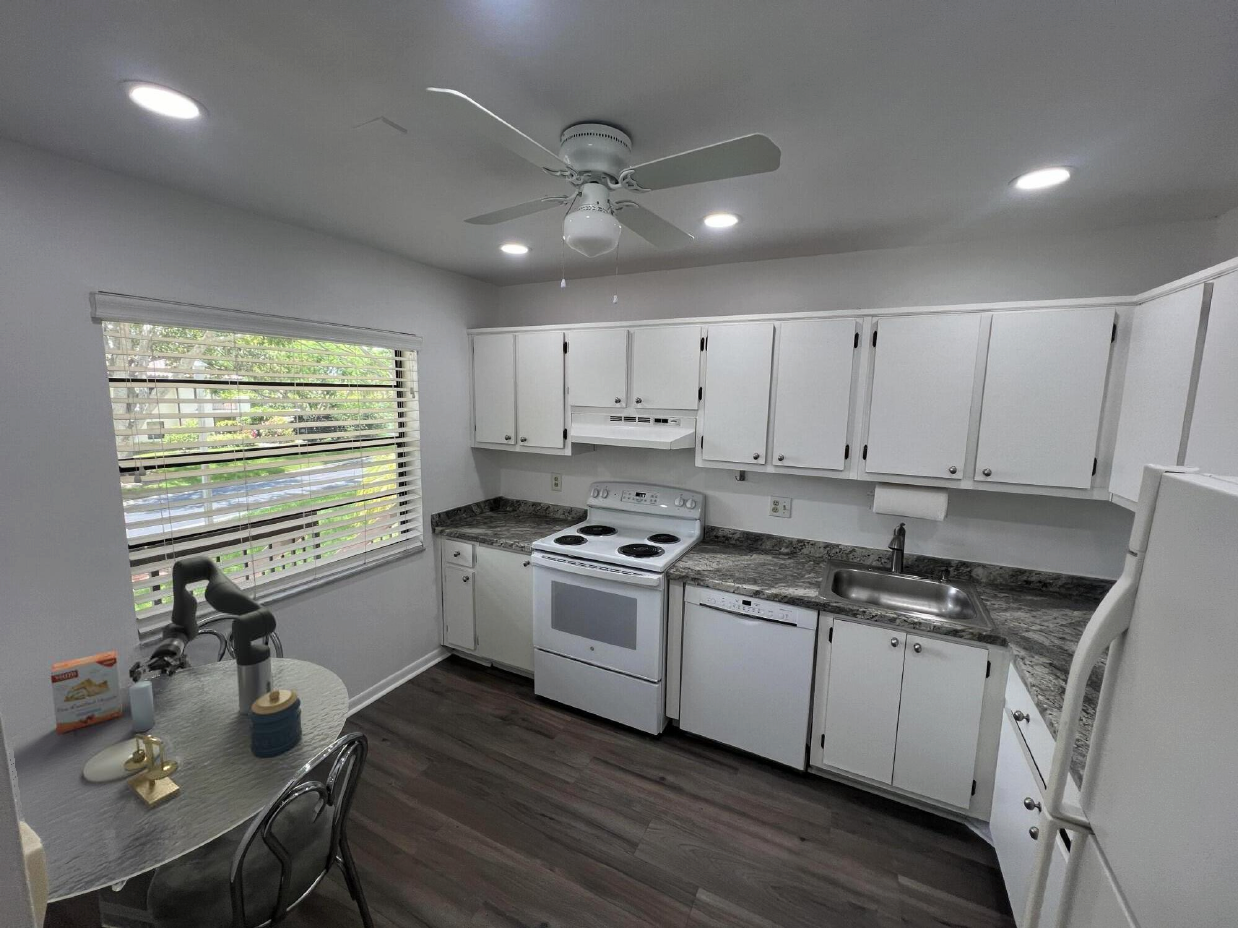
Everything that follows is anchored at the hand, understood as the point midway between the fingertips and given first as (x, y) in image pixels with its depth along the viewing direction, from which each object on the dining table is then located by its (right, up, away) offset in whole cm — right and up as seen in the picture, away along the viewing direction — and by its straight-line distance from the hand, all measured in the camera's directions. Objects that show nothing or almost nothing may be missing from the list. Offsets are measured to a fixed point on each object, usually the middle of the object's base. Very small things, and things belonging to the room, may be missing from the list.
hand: (152, 676), depth 163 cm
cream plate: (+13, -14, -22) cm, 29 cm away
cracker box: (-13, -11, -7) cm, 18 cm away
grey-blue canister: (+5, -12, -8) cm, 16 cm away
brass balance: (+29, -17, -31) cm, 46 cm away
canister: (+50, -15, -13) cm, 54 cm away
